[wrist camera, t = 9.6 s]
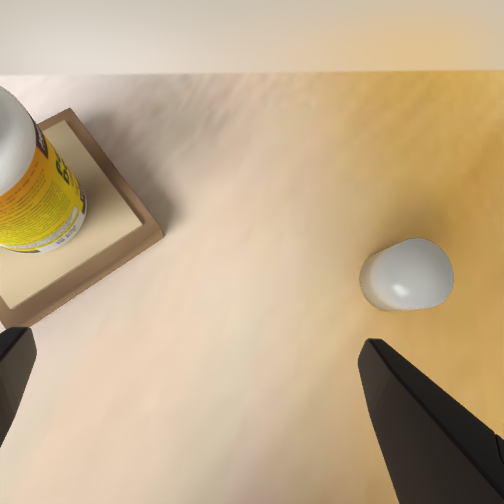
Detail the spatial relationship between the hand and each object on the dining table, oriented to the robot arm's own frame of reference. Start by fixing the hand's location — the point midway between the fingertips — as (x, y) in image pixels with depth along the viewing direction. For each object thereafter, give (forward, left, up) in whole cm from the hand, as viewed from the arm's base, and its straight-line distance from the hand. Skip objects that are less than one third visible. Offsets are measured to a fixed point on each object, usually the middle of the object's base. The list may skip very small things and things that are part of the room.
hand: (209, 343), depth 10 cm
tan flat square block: (+12, +3, -14) cm, 18 cm away
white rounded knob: (-5, -13, -14) cm, 20 cm away
